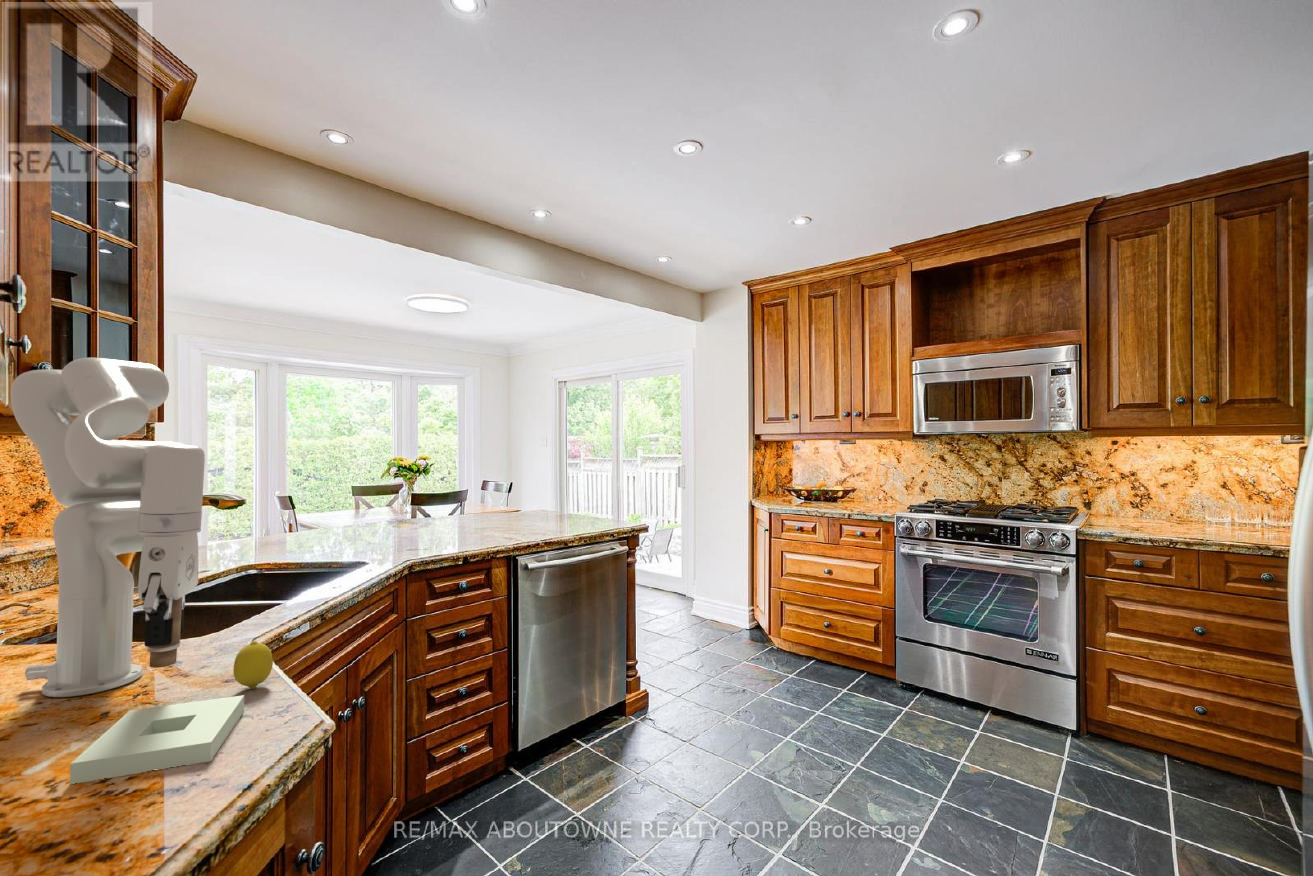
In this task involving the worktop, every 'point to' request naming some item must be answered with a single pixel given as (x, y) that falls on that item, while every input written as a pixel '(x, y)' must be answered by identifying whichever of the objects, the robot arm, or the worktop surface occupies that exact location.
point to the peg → (168, 653)
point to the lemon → (253, 664)
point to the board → (159, 739)
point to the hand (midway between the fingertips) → (164, 639)
